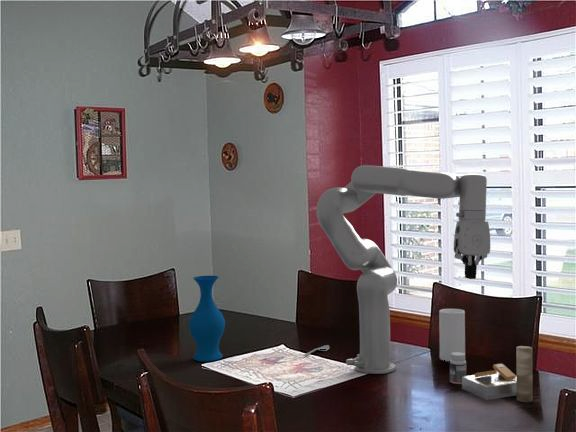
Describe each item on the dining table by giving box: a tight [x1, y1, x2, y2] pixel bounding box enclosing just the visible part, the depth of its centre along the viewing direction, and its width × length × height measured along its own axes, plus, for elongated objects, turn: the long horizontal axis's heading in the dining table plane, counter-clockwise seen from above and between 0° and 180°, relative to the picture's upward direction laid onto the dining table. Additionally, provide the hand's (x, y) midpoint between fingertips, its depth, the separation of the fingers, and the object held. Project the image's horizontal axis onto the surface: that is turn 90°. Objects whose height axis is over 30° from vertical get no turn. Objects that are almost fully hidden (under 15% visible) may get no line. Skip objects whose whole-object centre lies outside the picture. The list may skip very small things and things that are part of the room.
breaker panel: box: [461, 371, 517, 401], centre depth 185 cm, size 14×11×4 cm
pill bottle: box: [449, 352, 467, 385], centre depth 194 cm, size 5×5×8 cm
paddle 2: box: [492, 363, 517, 380], centre depth 186 cm, size 3×6×1 cm, turn 21°
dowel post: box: [515, 345, 534, 403], centre depth 177 cm, size 4×4×14 cm
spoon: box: [303, 344, 330, 357], centre depth 230 cm, size 4×21×2 cm, turn 140°
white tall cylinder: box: [438, 308, 466, 362], centre depth 220 cm, size 8×8×16 cm
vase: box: [188, 275, 226, 363], centre depth 226 cm, size 12×13×28 cm
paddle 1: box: [473, 369, 497, 377], centre depth 184 cm, size 3×6×1 cm, turn 22°
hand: (470, 278), depth 195 cm, fingers closed
